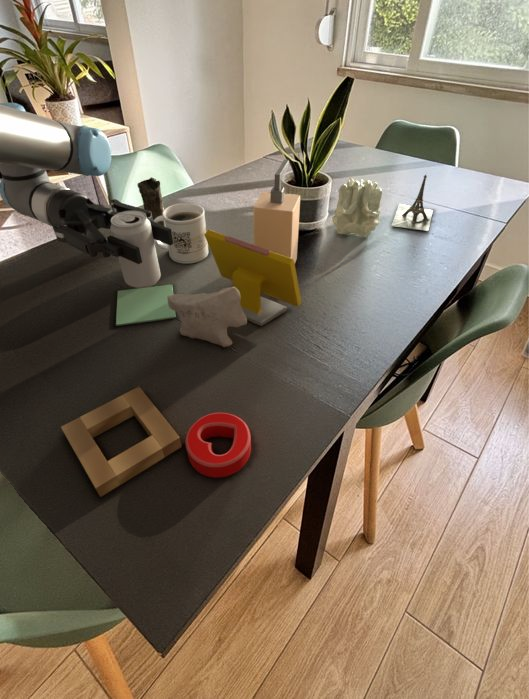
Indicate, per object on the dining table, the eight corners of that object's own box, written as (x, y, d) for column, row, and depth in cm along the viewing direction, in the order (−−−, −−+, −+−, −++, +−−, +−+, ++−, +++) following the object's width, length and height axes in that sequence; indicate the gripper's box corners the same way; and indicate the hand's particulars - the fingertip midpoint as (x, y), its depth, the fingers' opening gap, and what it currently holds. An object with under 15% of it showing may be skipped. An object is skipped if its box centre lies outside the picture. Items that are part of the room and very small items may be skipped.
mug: (187, 269, 102) (180, 226, 94) (153, 253, 107) (144, 212, 100) (216, 251, 108) (212, 209, 100) (182, 237, 113) (177, 196, 106)
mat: (116, 326, 87) (115, 324, 86) (118, 292, 95) (117, 290, 95) (175, 318, 88) (175, 316, 88) (172, 285, 97) (172, 284, 97)
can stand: (100, 497, 59) (95, 488, 58) (65, 436, 67) (60, 426, 65) (182, 446, 66) (179, 437, 64) (142, 396, 73) (139, 386, 71)
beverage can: (143, 295, 73) (127, 230, 65) (117, 283, 76) (99, 220, 68) (168, 277, 77) (157, 215, 69) (143, 266, 80) (129, 205, 71)
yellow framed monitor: (301, 314, 89) (306, 247, 78) (280, 335, 84) (283, 267, 74) (225, 284, 97) (221, 219, 87) (203, 301, 93) (195, 235, 82)
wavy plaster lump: (360, 258, 118) (380, 224, 104) (317, 240, 119) (331, 204, 104) (380, 209, 124) (401, 171, 109) (338, 192, 125) (354, 152, 110)
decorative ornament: (261, 438, 67) (261, 425, 65) (230, 488, 60) (228, 476, 58) (210, 415, 70) (208, 402, 68) (175, 460, 64) (172, 448, 62)
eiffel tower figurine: (398, 204, 128) (408, 158, 119) (433, 210, 125) (446, 163, 116) (391, 227, 118) (401, 178, 108) (429, 233, 115) (443, 184, 106)
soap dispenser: (289, 277, 99) (294, 183, 84) (254, 272, 101) (252, 179, 86) (300, 250, 108) (305, 161, 93) (267, 246, 110) (267, 157, 95)
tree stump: (182, 222, 119) (174, 173, 110) (170, 239, 112) (160, 189, 103) (148, 219, 121) (138, 171, 112) (134, 236, 114) (122, 186, 105)
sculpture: (253, 345, 82) (252, 280, 72) (244, 361, 79) (241, 295, 69) (178, 325, 87) (166, 261, 76) (166, 339, 84) (153, 274, 73)
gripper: (111, 209, 86) (197, 242, 77) (25, 250, 75) (114, 294, 65) (101, 172, 81) (192, 202, 72) (7, 209, 70) (101, 251, 60)
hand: (155, 246), depth 69 cm, fingers closed on beverage can, 6 cm apart
